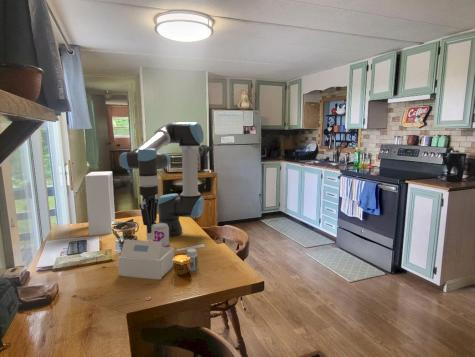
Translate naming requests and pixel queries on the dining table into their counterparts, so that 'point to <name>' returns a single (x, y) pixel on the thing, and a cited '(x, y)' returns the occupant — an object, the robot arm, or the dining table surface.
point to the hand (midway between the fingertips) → (150, 239)
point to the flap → (141, 249)
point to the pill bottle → (193, 259)
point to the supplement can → (161, 234)
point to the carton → (147, 265)
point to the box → (100, 202)
